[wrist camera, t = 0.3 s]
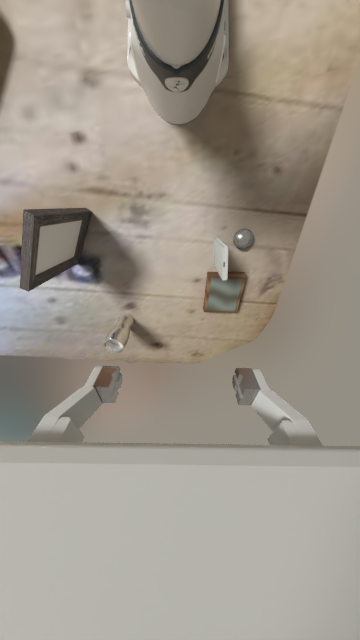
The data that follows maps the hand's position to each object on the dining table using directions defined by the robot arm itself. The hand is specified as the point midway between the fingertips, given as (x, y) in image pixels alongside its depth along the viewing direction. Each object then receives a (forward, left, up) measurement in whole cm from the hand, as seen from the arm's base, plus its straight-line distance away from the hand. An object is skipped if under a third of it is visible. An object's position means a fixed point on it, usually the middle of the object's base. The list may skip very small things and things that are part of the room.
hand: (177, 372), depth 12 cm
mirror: (+15, +15, -46) cm, 50 cm away
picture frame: (-1, -29, -46) cm, 54 cm away
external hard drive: (+2, +11, -46) cm, 47 cm away
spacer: (-2, +18, -46) cm, 49 cm away
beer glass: (+28, -21, -46) cm, 58 cm away
